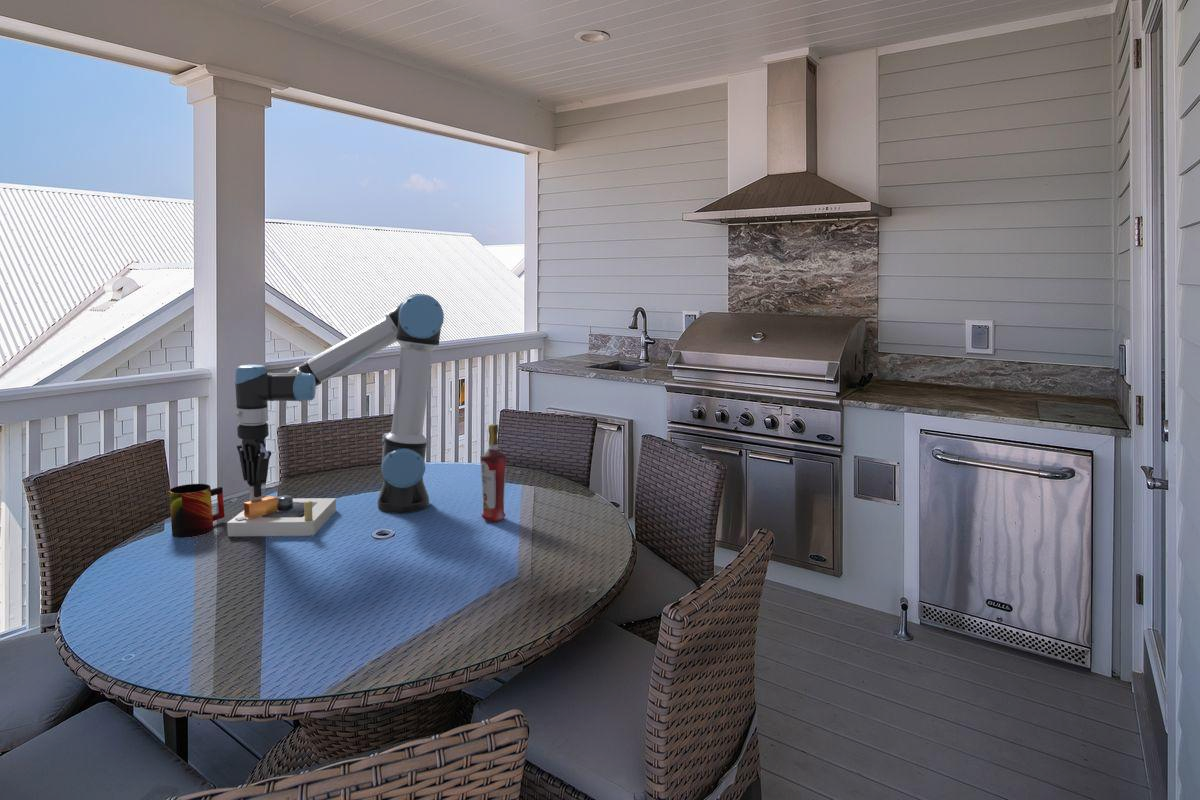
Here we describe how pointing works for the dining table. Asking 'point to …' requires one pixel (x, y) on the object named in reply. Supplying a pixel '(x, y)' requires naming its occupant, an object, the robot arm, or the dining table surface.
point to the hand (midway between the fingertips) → (255, 507)
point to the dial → (273, 507)
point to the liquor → (493, 479)
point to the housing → (286, 521)
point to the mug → (194, 509)
